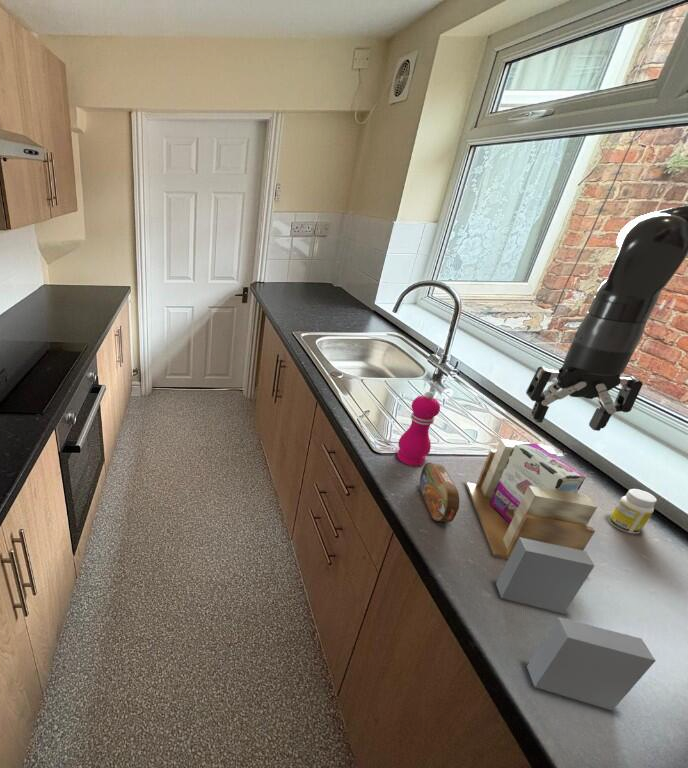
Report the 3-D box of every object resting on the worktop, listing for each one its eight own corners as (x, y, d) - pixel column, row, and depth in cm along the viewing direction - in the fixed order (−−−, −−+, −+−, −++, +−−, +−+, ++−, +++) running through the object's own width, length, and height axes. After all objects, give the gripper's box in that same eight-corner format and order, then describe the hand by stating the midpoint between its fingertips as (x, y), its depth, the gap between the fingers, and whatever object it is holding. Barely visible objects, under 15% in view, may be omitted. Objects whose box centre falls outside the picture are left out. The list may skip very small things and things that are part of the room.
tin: (416, 482, 100) (425, 454, 96) (430, 484, 100) (440, 456, 96) (436, 529, 87) (447, 498, 83) (453, 531, 86) (465, 501, 83)
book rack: (535, 498, 95) (562, 444, 88) (582, 577, 76) (620, 516, 70) (465, 485, 99) (485, 432, 92) (493, 556, 81) (521, 497, 74)
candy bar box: (552, 542, 82) (588, 477, 75) (528, 543, 82) (562, 478, 75) (509, 502, 92) (536, 441, 85) (487, 503, 92) (513, 443, 85)
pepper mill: (424, 471, 104) (447, 402, 95) (393, 462, 107) (411, 394, 98) (426, 456, 109) (448, 389, 100) (396, 448, 113) (414, 382, 104)
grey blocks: (555, 599, 73) (585, 551, 67) (611, 711, 57) (655, 660, 52) (495, 584, 75) (519, 536, 70) (533, 688, 60) (567, 637, 55)
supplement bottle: (633, 521, 88) (653, 491, 84) (644, 537, 84) (665, 506, 81) (604, 515, 90) (622, 484, 86) (613, 530, 86) (633, 499, 82)
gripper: (561, 345, 68) (526, 428, 75) (675, 355, 64) (625, 442, 71) (543, 330, 74) (511, 408, 82) (645, 338, 70) (602, 420, 77)
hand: (564, 424), depth 76 cm, fingers open, 8 cm apart
